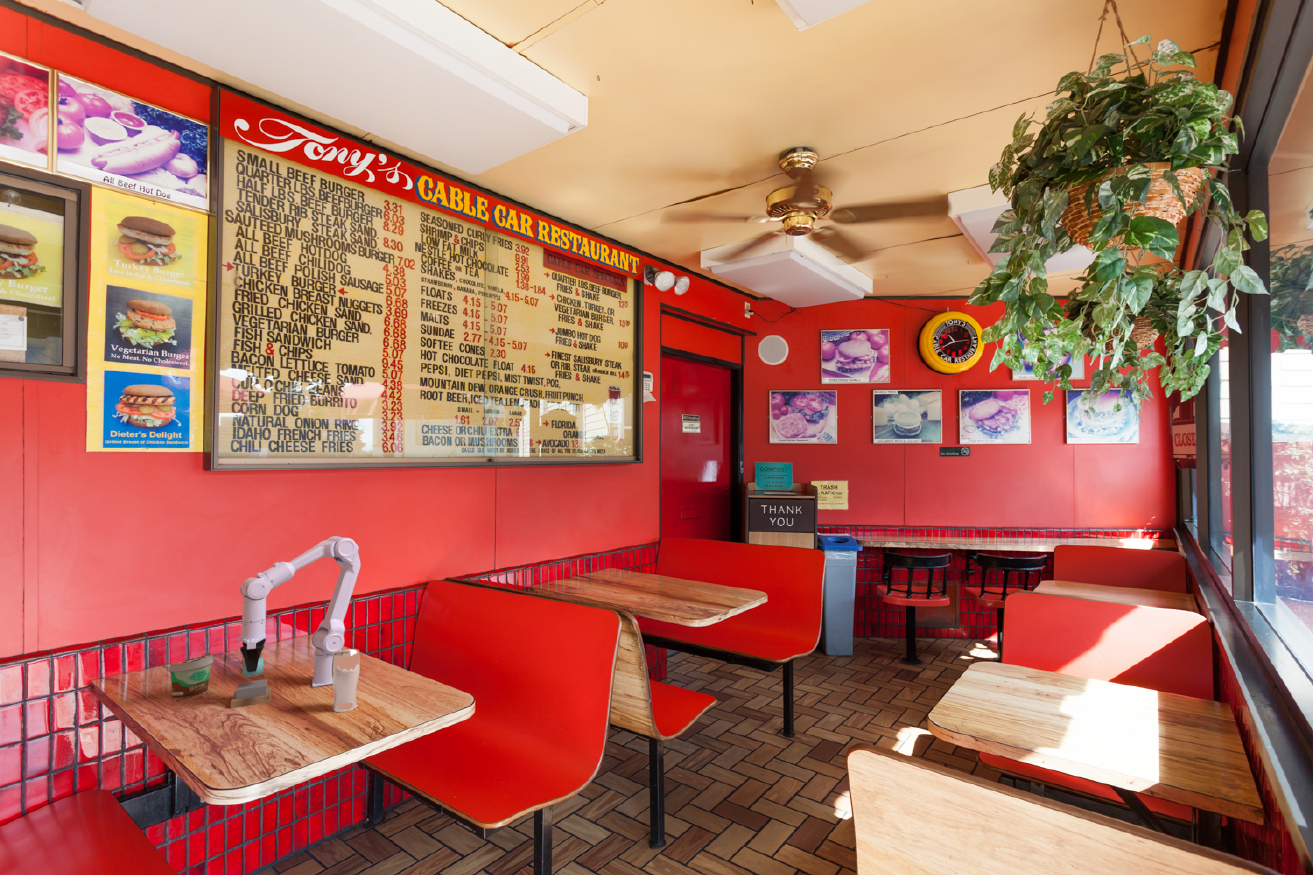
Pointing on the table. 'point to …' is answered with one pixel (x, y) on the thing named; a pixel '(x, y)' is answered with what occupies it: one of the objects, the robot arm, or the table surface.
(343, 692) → the beer glass
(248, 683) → the tower top
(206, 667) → the food container
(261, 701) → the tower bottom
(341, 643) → the robot arm
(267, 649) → the table surface
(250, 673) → the teal domed cylinder
